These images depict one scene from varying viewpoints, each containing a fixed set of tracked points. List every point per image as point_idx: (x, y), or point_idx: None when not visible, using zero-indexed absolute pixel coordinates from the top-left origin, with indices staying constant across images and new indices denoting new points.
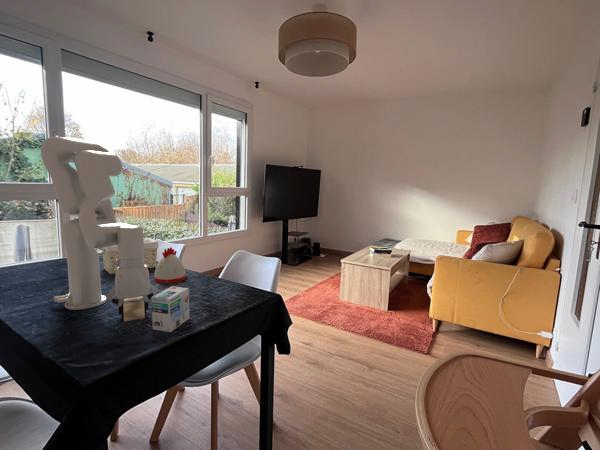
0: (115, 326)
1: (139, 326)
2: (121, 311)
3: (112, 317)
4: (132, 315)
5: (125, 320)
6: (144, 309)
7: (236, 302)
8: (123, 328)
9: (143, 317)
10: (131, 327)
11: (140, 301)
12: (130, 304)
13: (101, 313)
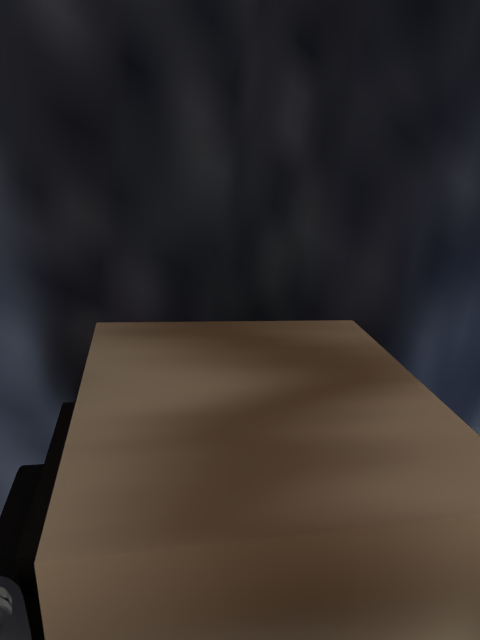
0: (468, 219)
1: (203, 2)
2: None
3: None
4: (274, 349)
5: (343, 325)
6: None
7: None
8: (414, 82)
9: (114, 323)
10: (317, 45)
11: (149, 543)
12: (387, 487)
13: None
